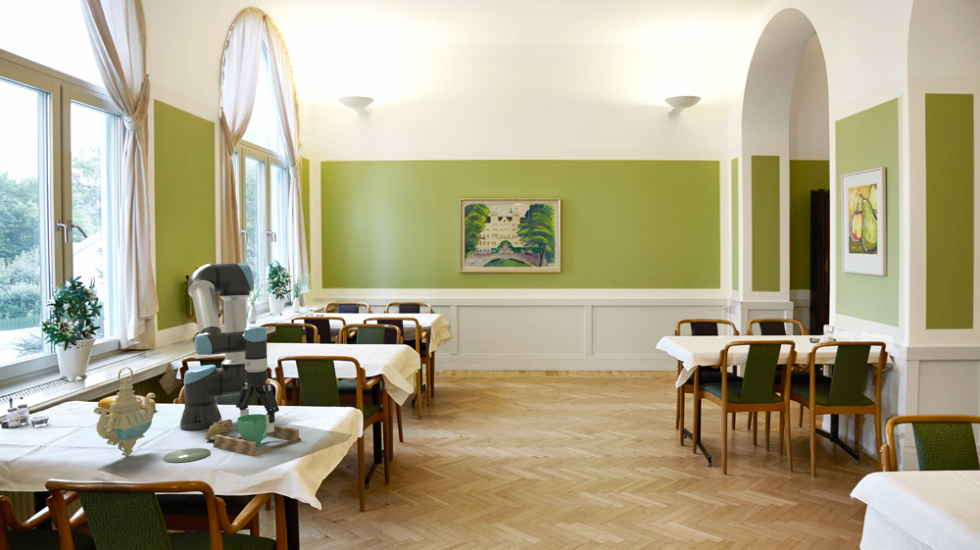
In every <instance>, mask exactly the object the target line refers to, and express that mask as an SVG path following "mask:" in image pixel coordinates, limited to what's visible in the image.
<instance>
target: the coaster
mask: <svg viewBox="0 0 980 550" xmlns="http://www.w3.org/2000/svg"><path fill="white" fill-rule="evenodd" d="M210 455H211V449H208V448H204V447H195V448H194V447H193V448H192V447H191V448H184V449H178V450H175V451H172V452H169V453H167V454H165V455H164V456H163V460H164V462H166V463H173V464H174V463H175V464H177V463H178V464H179V463H190V462H195V461H199V460H202V459H204V458H207V457H209V456H210Z"/></svg>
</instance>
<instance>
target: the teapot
mask: <svg viewBox="0 0 980 550" xmlns="http://www.w3.org/2000/svg"><path fill="white" fill-rule="evenodd" d="M125 369H128V371H130V377H129V378H127V377H126V376H125V377H124V378H123V379H121V373H122V371H124V370H125ZM133 375H134V372H133V369H131V368H130V367H123V368H121V369H119V371H118V375H117V378H118V381H119V382H121V383H122V384H121V383H119V386H120V387H118V390H119V392H116V395H118V397H116V401H115V402H113V403H110V404H109V406H111V407H110V409H109V411H110V412H111V413H110V414H107V413H106V410H105V409H104V408H102V407H98V406H96V407H94V409H93V413H95V414H100V416H99V419H98V421H97V424H96V432H97V434H98V435H99V437H101V439H104V440H107V441H106V445H110V446H117V449H118V450H120V451H121V453H122V454H121V456H125V457H129V456H130V455H131V454H132V453H133V452H134V451H133V448H134V446H135V445H136V443H137V441H138V440H139V439H143V438H145V437H146V436H145V435H144V434H145V433H147V431H148V430H149V429H150V428H151V426H152V423H153V418H154V414H155V411H154V410H153V407H152V406H151V404H150V399H155V398H156V394H155V392H149V393H147V395H146V396H144V397H145V404H142V402H143V400H141V399H140V398H138V397H137V398H136V396H137V395H136V394H134V393H135V392H136V390H133V389H134V386H133V384H132V382H131V383H129V382H130V381H131V380H132V378H133ZM141 405H142V408H147V409H148V414H147V413H146V412H145V411H144V410H142V409H140V406H141ZM99 411H101V413H99Z"/></svg>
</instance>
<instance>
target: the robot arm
mask: <svg viewBox="0 0 980 550" xmlns="http://www.w3.org/2000/svg"><path fill="white" fill-rule="evenodd" d="M254 289H255V279H254V275H253V271H252V268H251V267H250V266H249V264H247V263H208V264H207V263H206V264H204V265H202V266H200V267H198V268H197V269H196V270H195V271H194V272H193V273H192V274H191V275H190V278H189V279H188V283H187V291H188V295H189V296H190V297H191V298H192V302H193V307H194V313H195V319H196V323H197V329H198V334H197V333H196V335H194V353H195V354H196V355H199V356H206V355H207V356H209V355H210V356H211V355H220V354H224V357H225V358H224V360H223V361H222V362H221V364H220V367H219V368H218V367H217V366H216V365H215V364H207V365H206V364H205V365H200V366H195V367H192V368H190V369H188V370H186V371H185V373H184V378H183V385H184V409H183V412H182V414H181V419H180V421H179V427H180V429H182V430H190V431H191V430H193V431H194V430H204V429H210V426H211V425H213V424H214V423H215V422H219V421H223V417H222V415H221V412H220V410H219V407H218V404H217V403H218V402H217V401H218V400H217V398H221V397H229V396H231V397H232V396H236V395H237V396H238V398H237V401H236V405H235V407H236V408H238V409H239V410H240V412H239V413H240V417H241V416H245V415H250V413H249V412H250V409H249V405H250V403H251V401H252V400H253V398H254V397H255V398H258V399H259V400H260V402H261V403H262V405H263V406H264V409H265V410H266V414H265V415H266V432H267V433H270V432H273V431H274V425H275V422H276V421H275V420H276V419H275V418H276V416H275V415H276V413H277V412H280V407H279V405H278V403H277V400H276V397H275V394H274V390H273V389H274V388H273V385H272V384H268V385H267V384H266V382H267V381H268V379H269V377H268V373H269V372H268V370H267V369H268V368H269V367H268V347H267V346H268V345H267V344H268V342H267V341H268V340H267V339H268V335H267V328H266V327H264V326H249V327H247V325H248V324H247V323H248V322H247V321H248V320H247V299H248V298H250V296H251V294H250V293H251V292H253V291H254ZM215 293H219V296H218V297H219V298H220V299H222V301H223V321H224V323H223V326H224V327H223V328H224V330H223V331H224V332H223V331H222V327H221V322H220V318H219V313H218V309H217V303H216V300H215V295H214V294H215Z"/></svg>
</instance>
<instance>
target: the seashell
mask: <svg viewBox="0 0 980 550" xmlns="http://www.w3.org/2000/svg"><path fill="white" fill-rule="evenodd" d="M232 429H233V420H232V419H230V418H229V419H222V421H219V422H215V423H214V424H213V425H211V426H210V428H208V431H207V433H205V435H204V438H205V440H206V441H211V440H213V441H215V436H216V435H222V436H227V437H229V435H230V433H231V432H232V431H233V430H232Z"/></svg>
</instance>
